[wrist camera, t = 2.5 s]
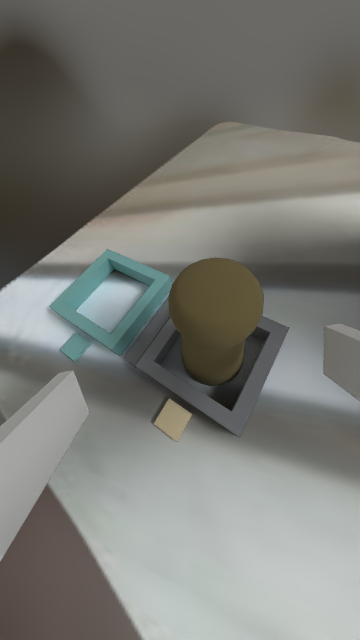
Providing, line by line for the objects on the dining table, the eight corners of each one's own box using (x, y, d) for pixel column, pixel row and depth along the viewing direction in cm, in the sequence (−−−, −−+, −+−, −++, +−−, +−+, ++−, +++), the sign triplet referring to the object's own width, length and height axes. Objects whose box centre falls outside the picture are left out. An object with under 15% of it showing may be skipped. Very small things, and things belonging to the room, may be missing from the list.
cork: (253, 376, 18) (308, 320, 8) (189, 393, 18) (167, 357, 8) (230, 319, 21) (250, 229, 11) (175, 334, 21) (146, 257, 11)
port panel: (113, 260, 27) (107, 248, 25) (281, 336, 19) (289, 327, 17) (41, 334, 23) (27, 327, 21) (218, 474, 15) (220, 481, 13)
